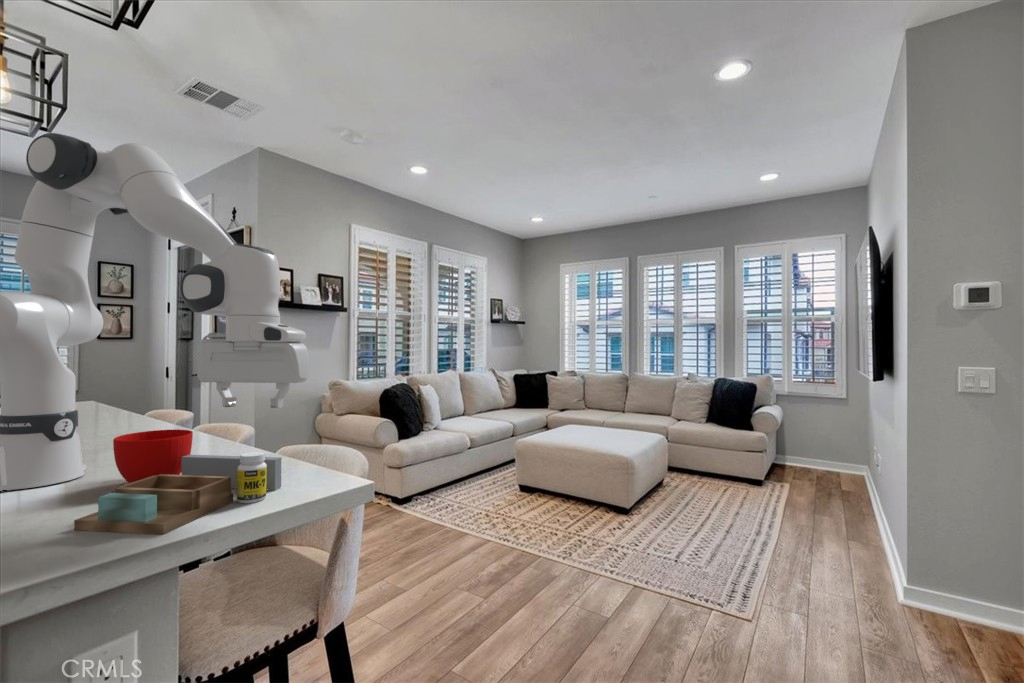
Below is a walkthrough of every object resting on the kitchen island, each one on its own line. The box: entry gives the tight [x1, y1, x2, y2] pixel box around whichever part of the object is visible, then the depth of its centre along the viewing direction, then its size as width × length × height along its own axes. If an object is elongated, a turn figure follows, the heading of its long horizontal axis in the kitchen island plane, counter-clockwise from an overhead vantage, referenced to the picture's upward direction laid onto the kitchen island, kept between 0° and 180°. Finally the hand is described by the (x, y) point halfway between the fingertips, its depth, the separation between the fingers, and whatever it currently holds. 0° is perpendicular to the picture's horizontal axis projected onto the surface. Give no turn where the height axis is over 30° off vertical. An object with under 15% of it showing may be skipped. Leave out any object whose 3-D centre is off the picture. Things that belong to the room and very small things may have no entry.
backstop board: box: [180, 454, 282, 491], centre depth 94 cm, size 20×2×6 cm, turn 84°
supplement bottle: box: [236, 451, 267, 504], centre depth 86 cm, size 5×5×8 cm
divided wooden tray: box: [73, 474, 235, 535], centre depth 79 cm, size 15×15×5 cm
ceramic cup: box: [112, 429, 193, 484], centre depth 97 cm, size 13×17×10 cm
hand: (253, 407), depth 87 cm, fingers open, 8 cm apart
